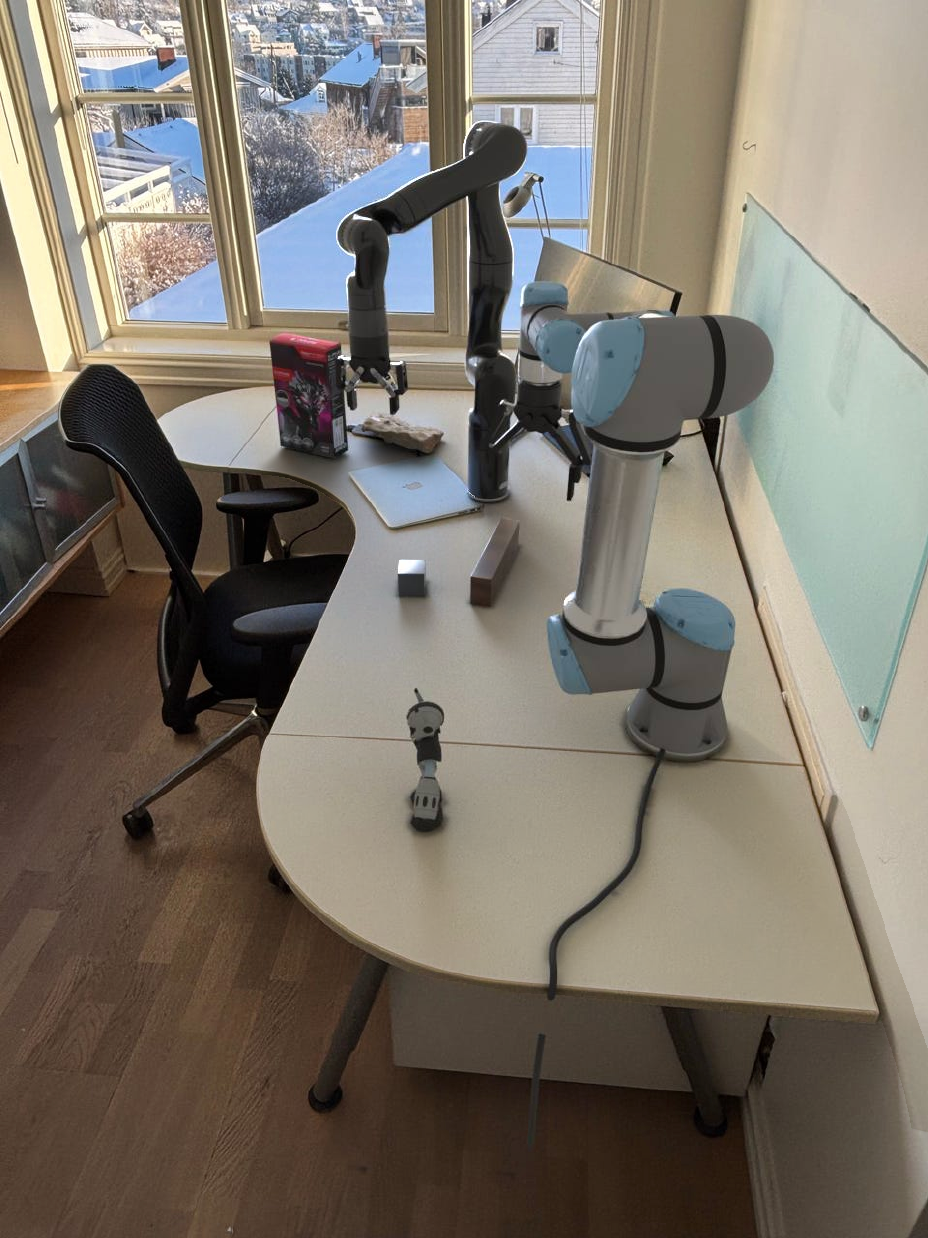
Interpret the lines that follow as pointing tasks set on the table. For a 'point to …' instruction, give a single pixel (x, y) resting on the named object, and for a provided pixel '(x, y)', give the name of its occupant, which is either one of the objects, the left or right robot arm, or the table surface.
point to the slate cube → (411, 577)
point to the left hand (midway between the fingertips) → (373, 411)
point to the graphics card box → (309, 395)
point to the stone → (402, 432)
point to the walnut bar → (494, 563)
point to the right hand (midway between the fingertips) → (533, 492)
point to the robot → (426, 762)
